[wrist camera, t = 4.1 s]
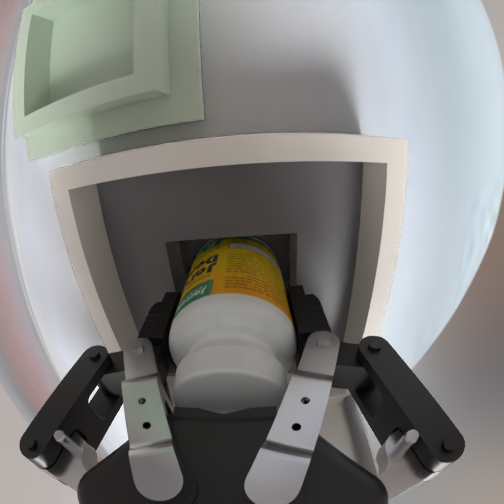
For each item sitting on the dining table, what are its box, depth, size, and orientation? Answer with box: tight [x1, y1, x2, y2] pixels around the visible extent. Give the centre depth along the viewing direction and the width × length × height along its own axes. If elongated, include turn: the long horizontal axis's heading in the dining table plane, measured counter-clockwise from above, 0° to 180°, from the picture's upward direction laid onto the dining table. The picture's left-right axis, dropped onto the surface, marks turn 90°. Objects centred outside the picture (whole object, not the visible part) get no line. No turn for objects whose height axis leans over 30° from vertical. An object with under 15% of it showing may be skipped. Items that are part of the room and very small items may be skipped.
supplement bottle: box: [169, 236, 297, 414], centre depth 12 cm, size 5×5×10 cm
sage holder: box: [13, 0, 205, 162], centre depth 9 cm, size 12×12×3 cm
